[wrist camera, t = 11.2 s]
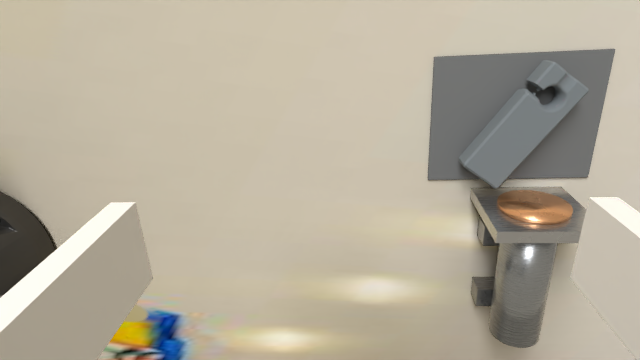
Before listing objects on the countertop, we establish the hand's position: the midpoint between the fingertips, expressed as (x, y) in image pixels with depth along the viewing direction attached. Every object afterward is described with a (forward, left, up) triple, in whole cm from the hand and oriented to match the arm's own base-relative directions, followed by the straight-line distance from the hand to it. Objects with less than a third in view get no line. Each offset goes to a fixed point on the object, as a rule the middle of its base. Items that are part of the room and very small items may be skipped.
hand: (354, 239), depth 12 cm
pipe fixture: (+14, -17, -26) cm, 34 cm away
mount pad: (+13, -4, -26) cm, 29 cm away
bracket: (+9, -6, -27) cm, 29 cm away
